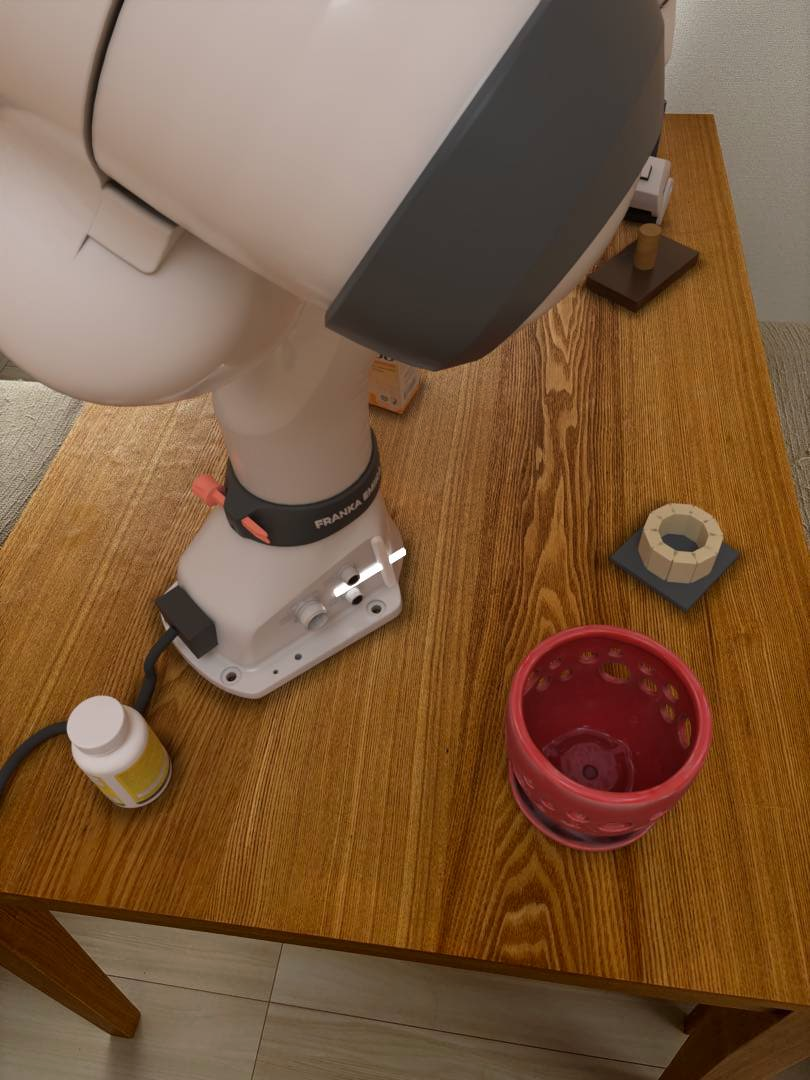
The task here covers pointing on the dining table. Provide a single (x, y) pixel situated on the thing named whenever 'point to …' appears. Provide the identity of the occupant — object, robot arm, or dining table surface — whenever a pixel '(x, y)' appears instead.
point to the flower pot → (602, 736)
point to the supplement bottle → (118, 751)
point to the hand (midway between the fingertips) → (545, 98)
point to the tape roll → (680, 563)
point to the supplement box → (392, 384)
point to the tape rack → (642, 269)
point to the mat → (671, 591)
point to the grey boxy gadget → (651, 192)
